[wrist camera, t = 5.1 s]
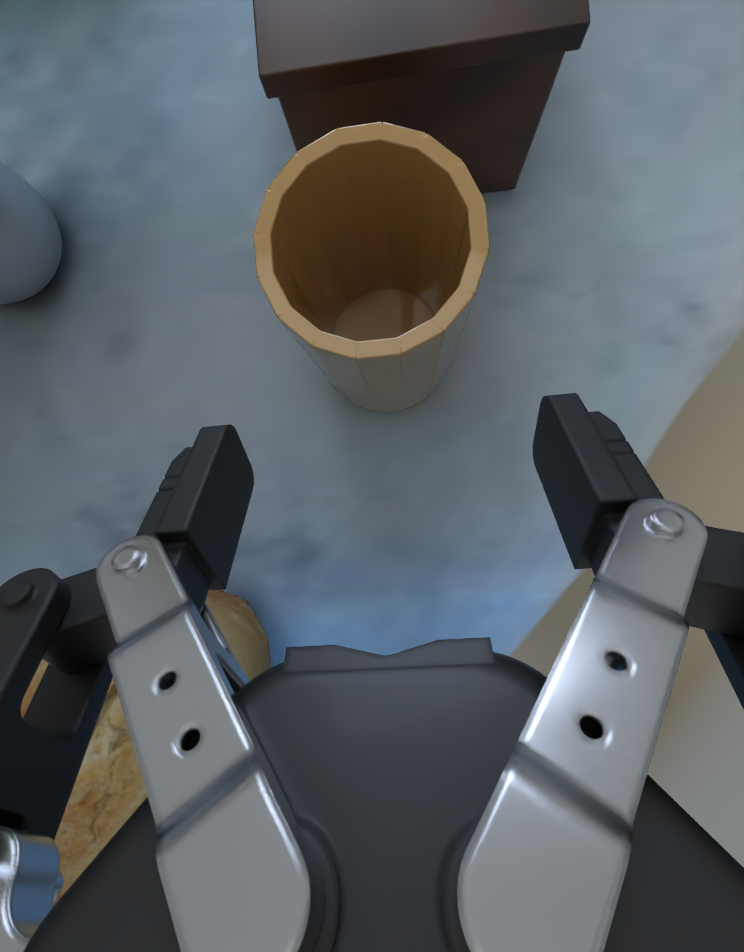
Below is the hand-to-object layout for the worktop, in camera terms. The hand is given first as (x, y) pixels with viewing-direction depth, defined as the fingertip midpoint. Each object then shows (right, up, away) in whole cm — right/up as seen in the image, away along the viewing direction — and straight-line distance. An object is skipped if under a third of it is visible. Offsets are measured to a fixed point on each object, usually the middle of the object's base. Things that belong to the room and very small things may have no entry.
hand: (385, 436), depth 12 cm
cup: (0, +5, +10) cm, 12 cm away
